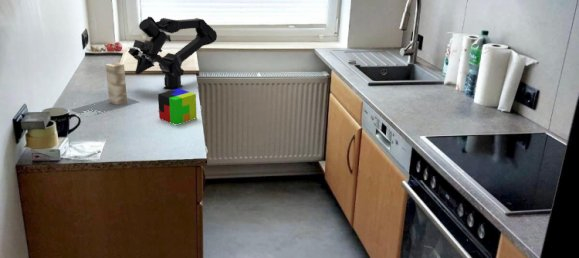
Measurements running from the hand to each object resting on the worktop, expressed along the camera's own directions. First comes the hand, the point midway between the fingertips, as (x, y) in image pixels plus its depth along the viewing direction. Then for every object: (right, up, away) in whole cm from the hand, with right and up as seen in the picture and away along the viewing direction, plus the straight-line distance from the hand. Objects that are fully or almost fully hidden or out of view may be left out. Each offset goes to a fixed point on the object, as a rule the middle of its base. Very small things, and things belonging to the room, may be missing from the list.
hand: (136, 73), depth 223 cm
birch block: (-6, -12, -4) cm, 14 cm away
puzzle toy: (+21, -19, -17) cm, 33 cm away
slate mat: (-10, -14, -8) cm, 19 cm away
